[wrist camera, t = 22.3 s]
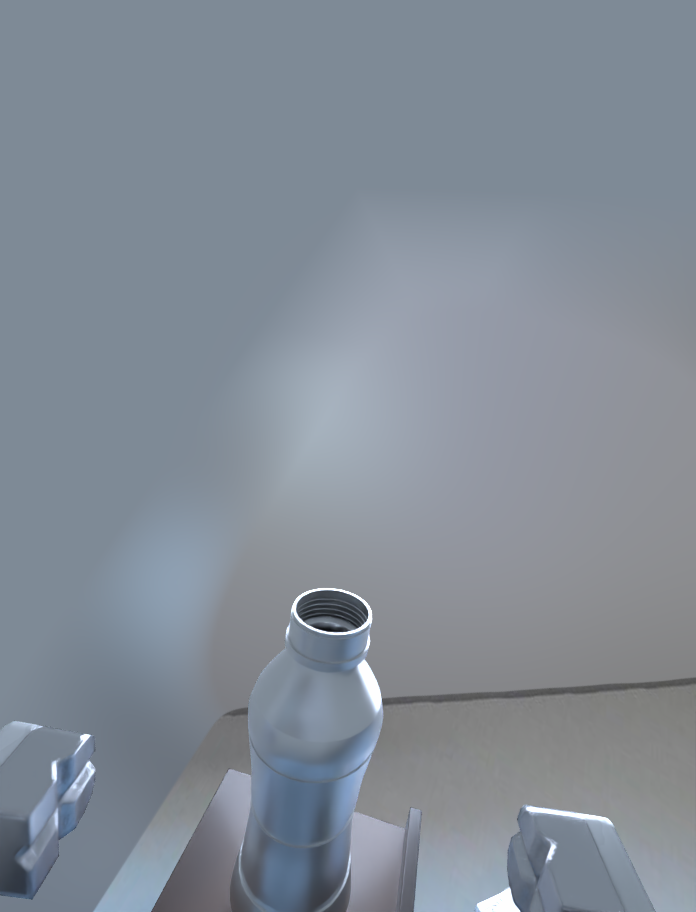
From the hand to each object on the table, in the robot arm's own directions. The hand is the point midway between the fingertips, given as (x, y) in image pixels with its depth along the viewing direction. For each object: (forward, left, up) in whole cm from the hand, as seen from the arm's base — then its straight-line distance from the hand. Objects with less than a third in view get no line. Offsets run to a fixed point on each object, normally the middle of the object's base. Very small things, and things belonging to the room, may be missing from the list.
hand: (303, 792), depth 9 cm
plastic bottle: (-2, +12, -24) cm, 27 cm away
